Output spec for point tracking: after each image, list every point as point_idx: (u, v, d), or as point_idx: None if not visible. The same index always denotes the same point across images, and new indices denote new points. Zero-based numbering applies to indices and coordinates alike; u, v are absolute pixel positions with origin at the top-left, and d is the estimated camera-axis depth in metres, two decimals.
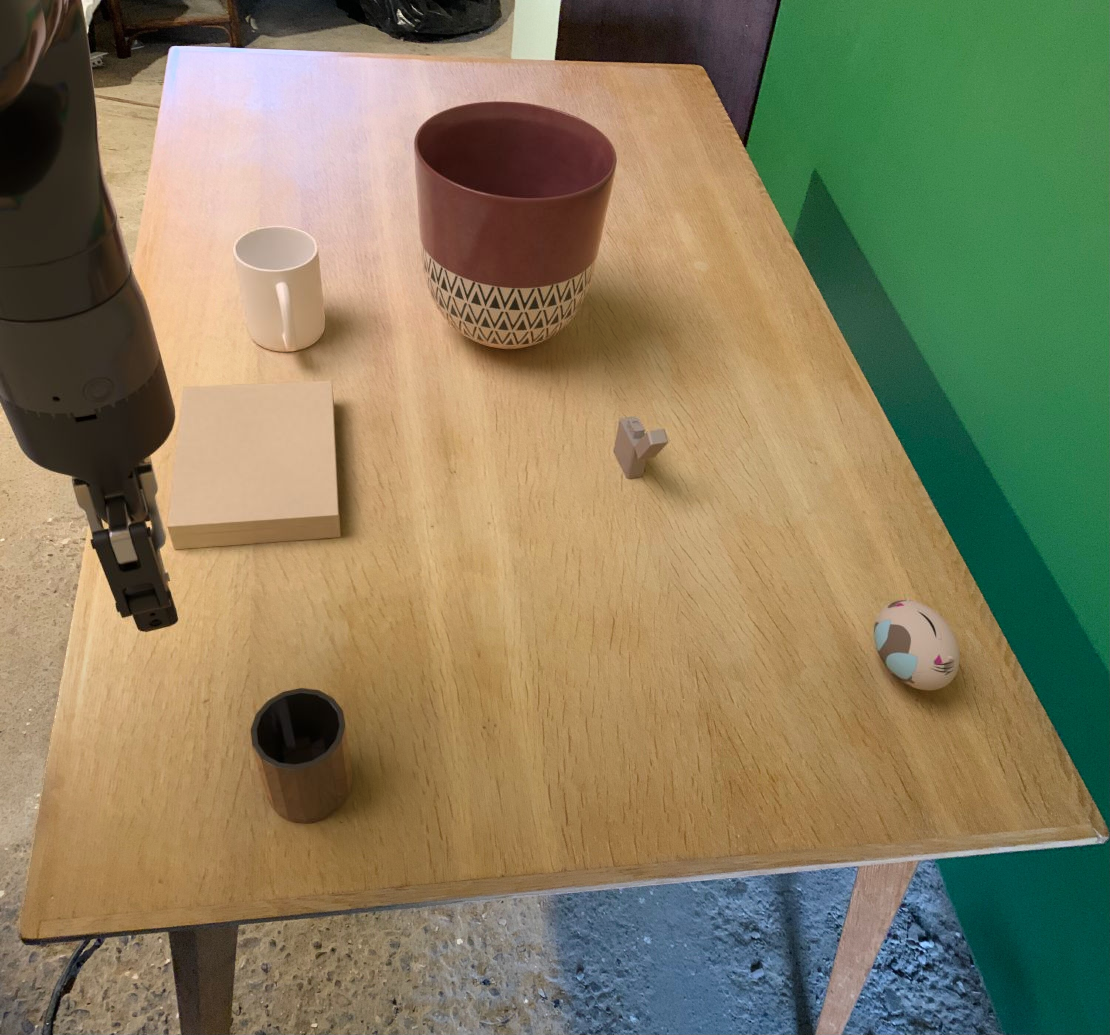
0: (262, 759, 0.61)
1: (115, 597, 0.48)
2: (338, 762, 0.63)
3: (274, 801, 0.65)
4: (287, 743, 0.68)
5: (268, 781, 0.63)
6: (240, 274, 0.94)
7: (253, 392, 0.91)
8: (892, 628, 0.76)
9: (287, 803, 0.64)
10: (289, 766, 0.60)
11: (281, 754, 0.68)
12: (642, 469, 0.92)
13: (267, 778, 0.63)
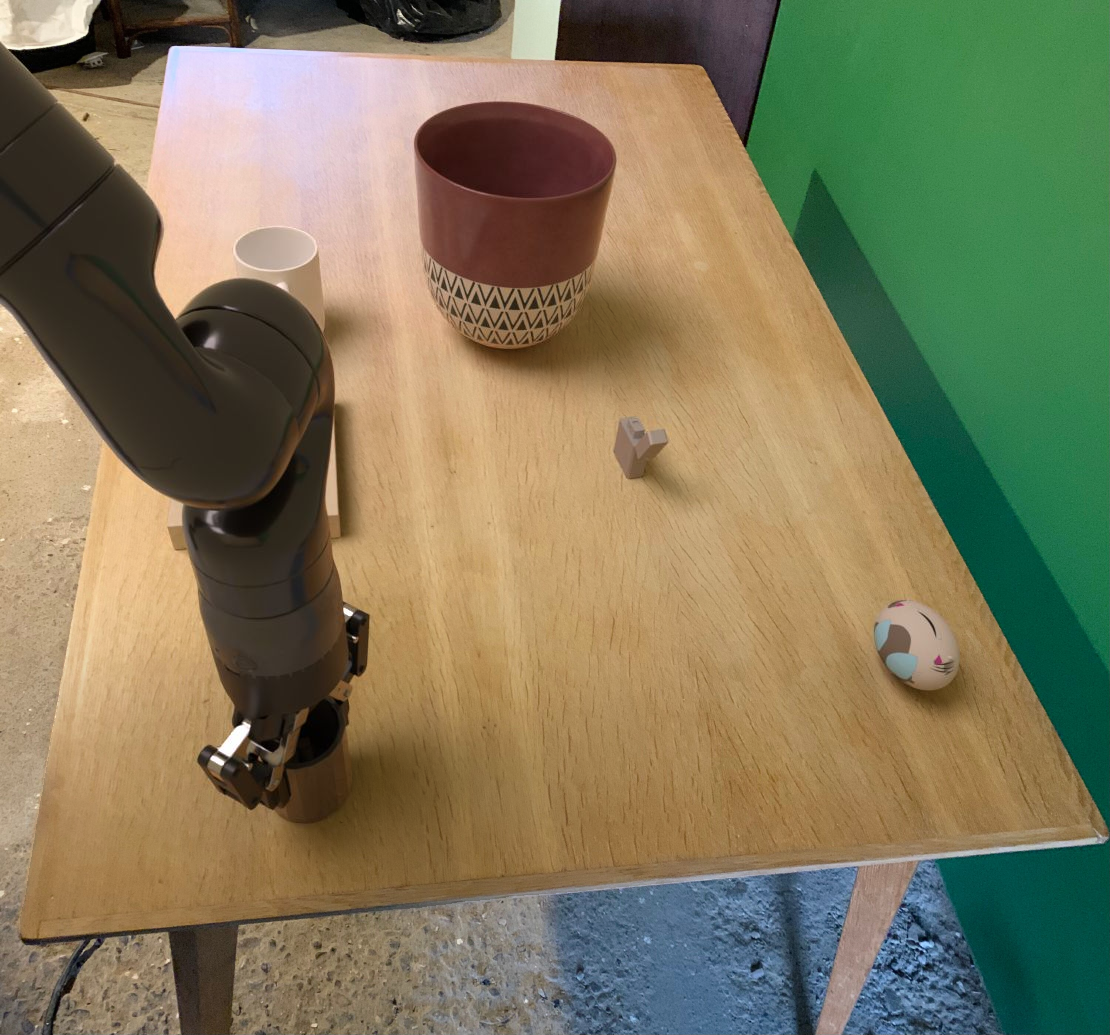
0: (262, 759, 0.61)
1: (213, 783, 0.57)
2: (338, 762, 0.63)
3: None
4: None
5: None
6: (240, 274, 0.94)
7: None
8: (892, 628, 0.76)
9: (287, 803, 0.64)
10: (289, 766, 0.60)
11: None
12: (642, 469, 0.92)
13: None
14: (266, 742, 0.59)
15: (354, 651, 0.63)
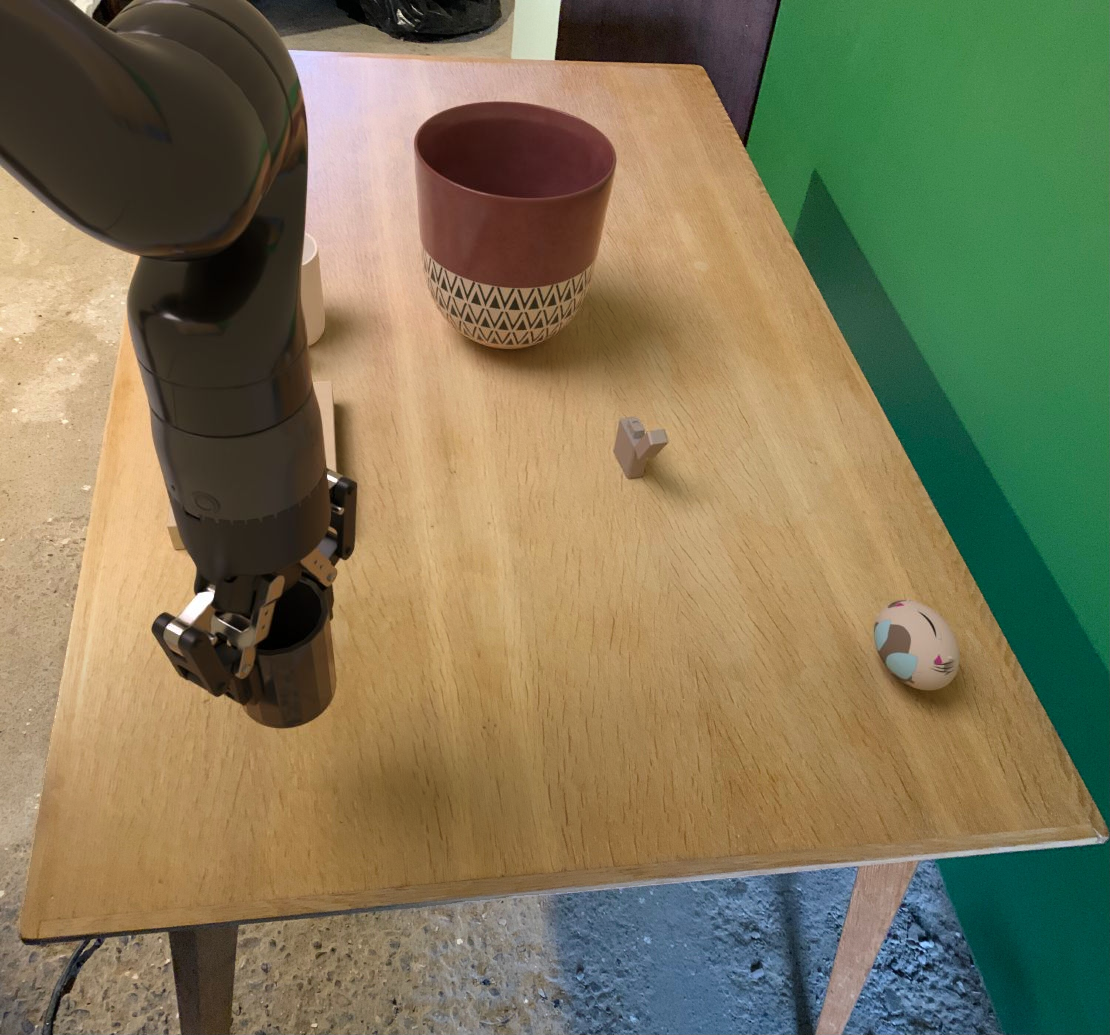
0: (232, 644, 0.53)
1: (172, 664, 0.49)
2: (320, 654, 0.55)
3: None
4: (263, 640, 0.60)
5: None
6: None
7: None
8: (892, 628, 0.76)
9: (261, 702, 0.56)
10: (263, 652, 0.52)
11: None
12: (642, 469, 0.92)
13: None
14: (235, 620, 0.51)
15: (339, 527, 0.55)
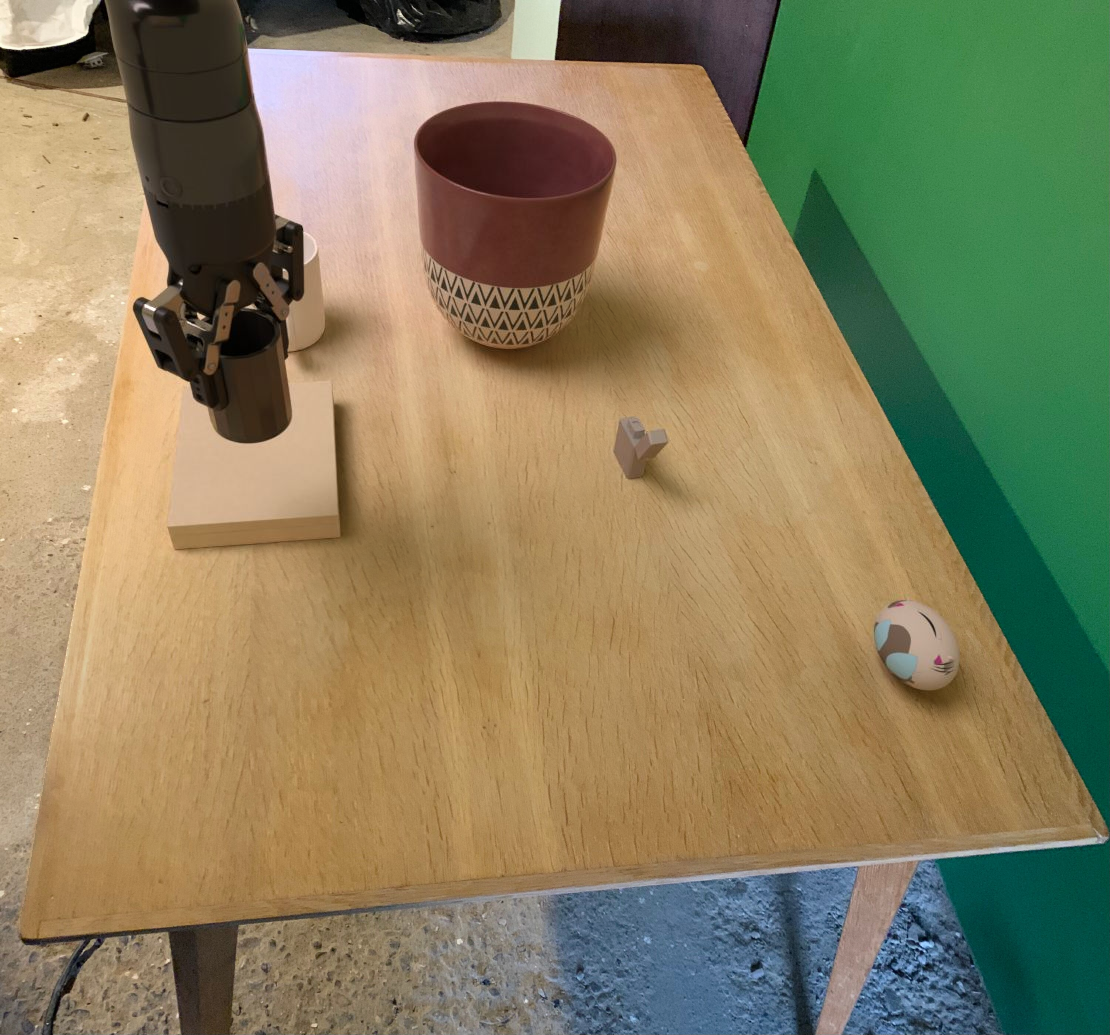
0: (201, 351, 0.65)
1: (151, 351, 0.62)
2: (274, 369, 0.68)
3: (216, 415, 0.70)
4: None
5: None
6: None
7: None
8: (892, 628, 0.76)
9: (227, 413, 0.69)
10: (225, 357, 0.65)
11: None
12: (642, 469, 0.92)
13: None
14: (202, 324, 0.64)
15: (289, 267, 0.68)
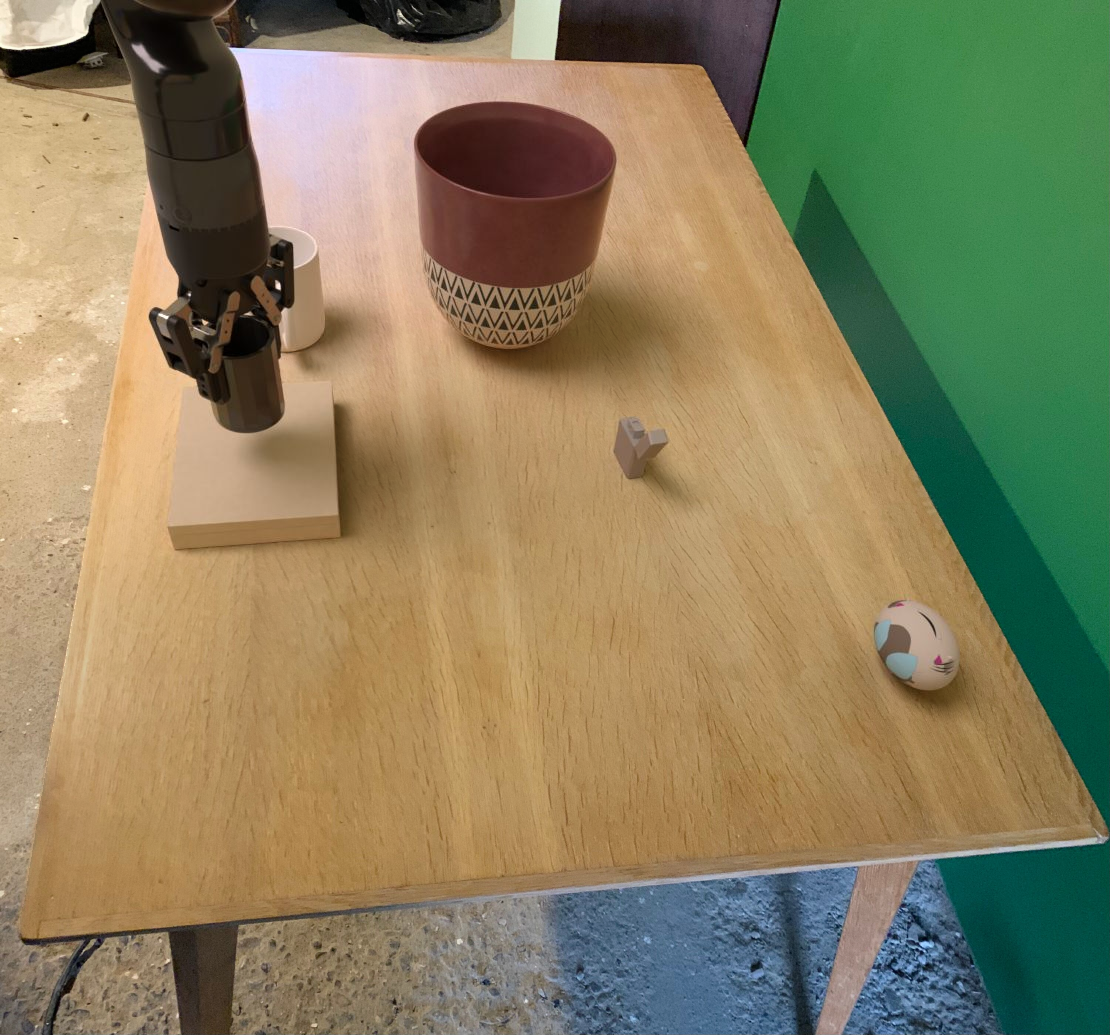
0: None
1: (163, 353, 0.72)
2: (269, 368, 0.78)
3: (218, 408, 0.80)
4: None
5: None
6: None
7: None
8: (892, 628, 0.76)
9: (228, 406, 0.79)
10: (227, 357, 0.75)
11: None
12: (642, 469, 0.92)
13: None
14: (207, 330, 0.74)
15: (281, 279, 0.78)
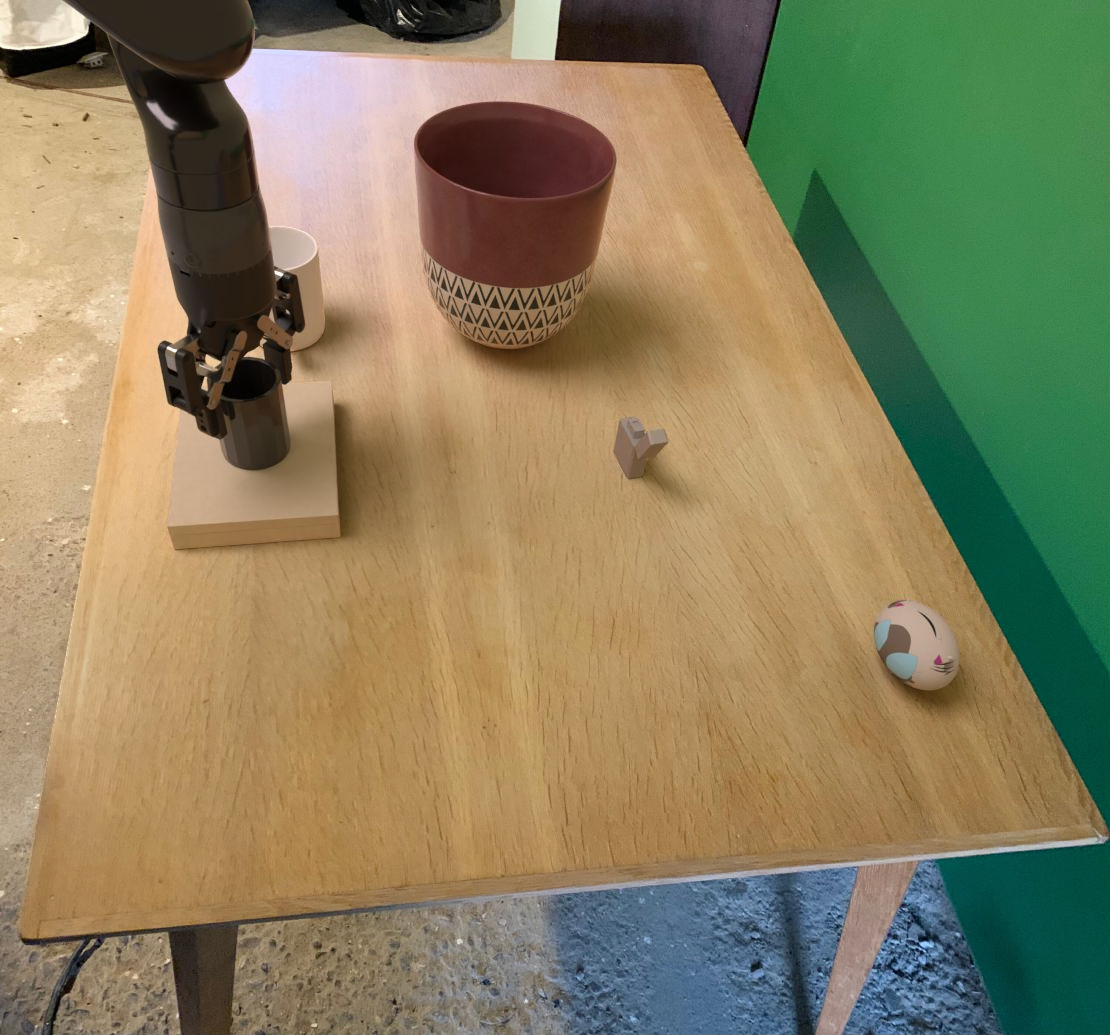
0: None
1: (165, 387, 0.74)
2: (275, 409, 0.81)
3: (227, 447, 0.83)
4: None
5: None
6: None
7: None
8: (892, 628, 0.76)
9: (236, 445, 0.82)
10: (236, 400, 0.78)
11: None
12: (642, 469, 0.92)
13: None
14: (210, 367, 0.76)
15: (290, 308, 0.81)
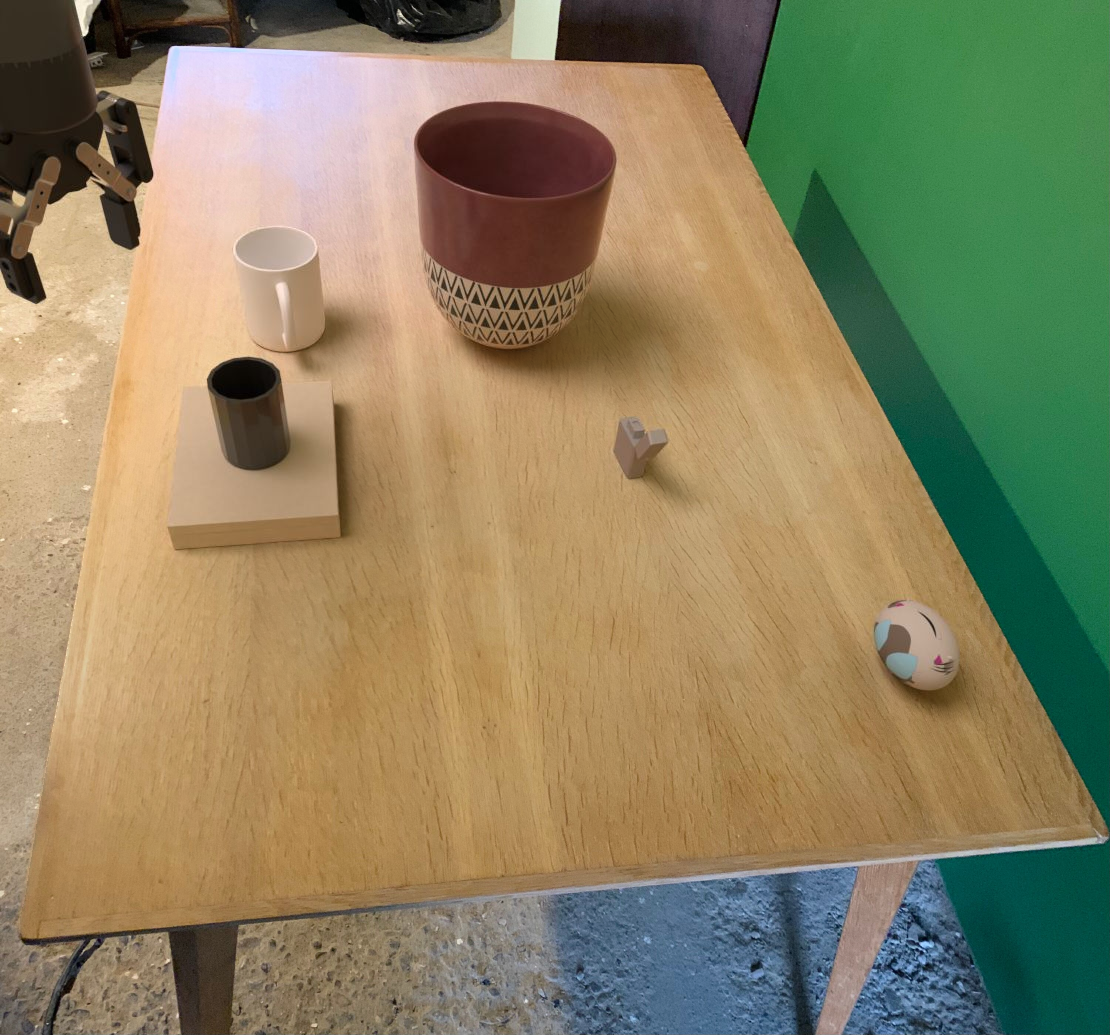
0: (215, 395, 0.79)
1: None
2: (275, 409, 0.81)
3: (227, 447, 0.83)
4: None
5: (221, 422, 0.81)
6: (240, 274, 0.94)
7: None
8: (892, 628, 0.76)
9: (236, 445, 0.82)
10: (236, 400, 0.78)
11: None
12: (642, 469, 0.92)
13: (220, 418, 0.80)
14: (15, 205, 0.61)
15: (129, 147, 0.66)
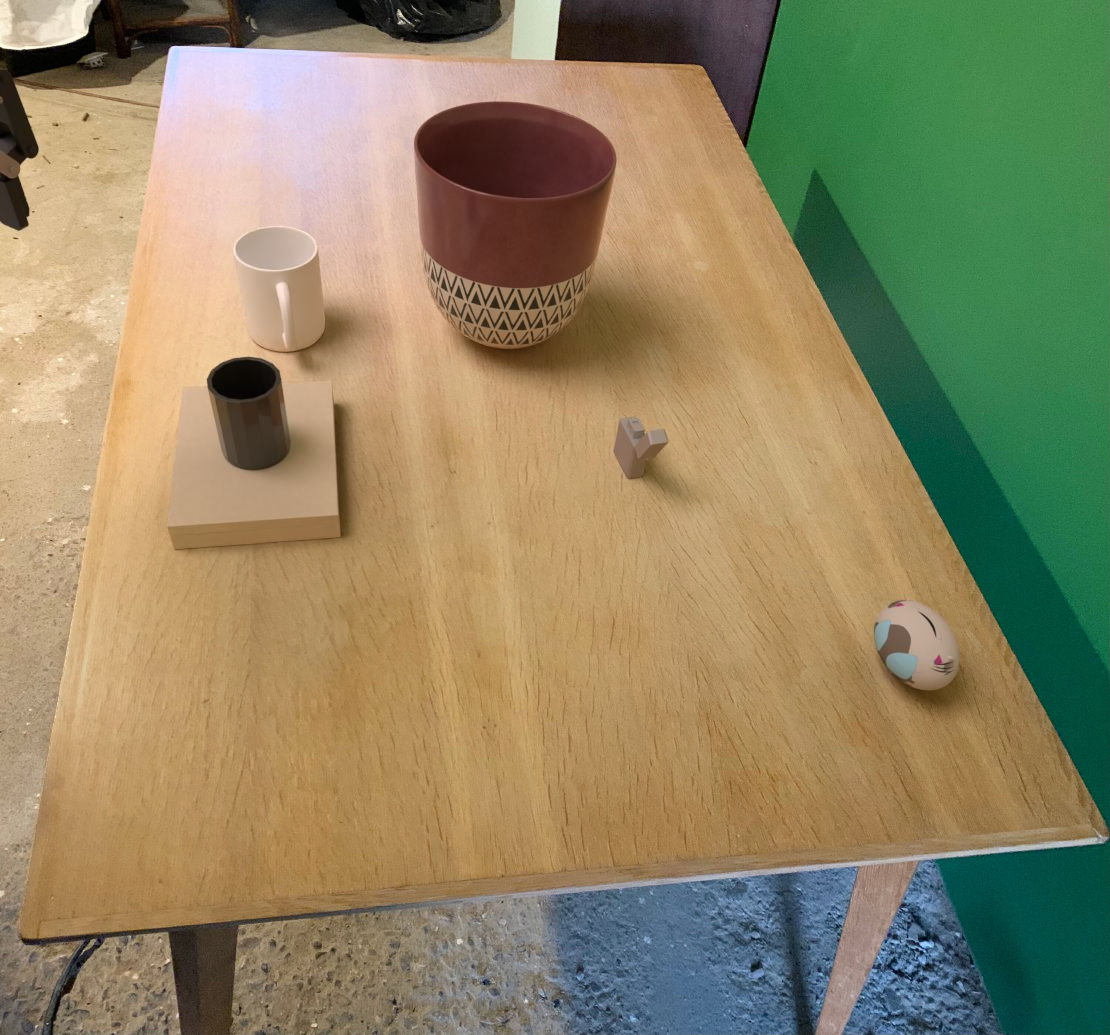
0: (215, 395, 0.79)
1: None
2: (275, 409, 0.81)
3: (227, 447, 0.83)
4: None
5: (221, 422, 0.81)
6: (240, 274, 0.94)
7: None
8: (892, 628, 0.76)
9: (236, 445, 0.82)
10: (236, 400, 0.78)
11: None
12: (642, 469, 0.92)
13: (220, 418, 0.80)
14: None
15: (8, 120, 0.62)
